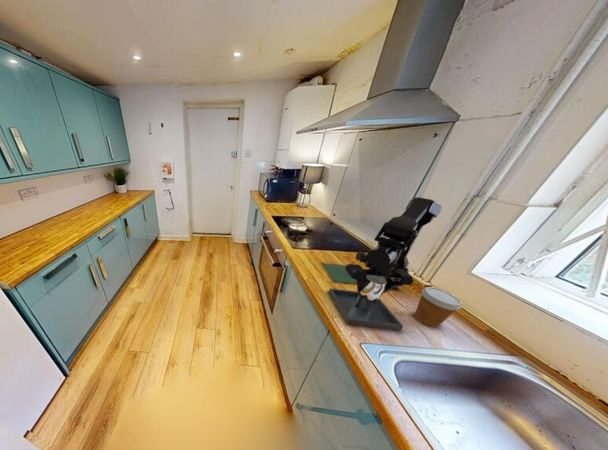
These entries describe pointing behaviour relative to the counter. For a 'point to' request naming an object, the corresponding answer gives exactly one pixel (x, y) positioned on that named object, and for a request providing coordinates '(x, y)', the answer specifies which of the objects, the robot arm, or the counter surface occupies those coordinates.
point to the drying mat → (339, 273)
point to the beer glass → (369, 295)
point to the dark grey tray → (376, 319)
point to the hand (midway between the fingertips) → (369, 292)
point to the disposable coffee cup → (436, 306)
